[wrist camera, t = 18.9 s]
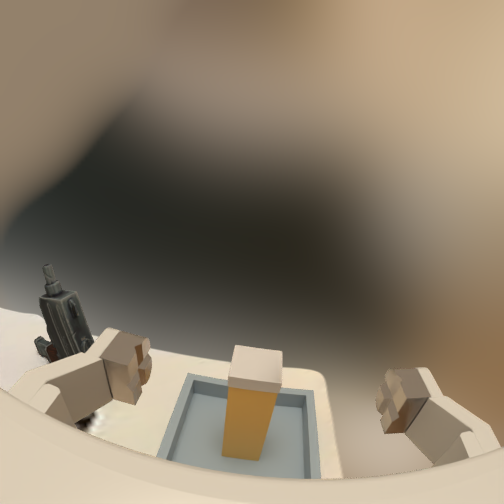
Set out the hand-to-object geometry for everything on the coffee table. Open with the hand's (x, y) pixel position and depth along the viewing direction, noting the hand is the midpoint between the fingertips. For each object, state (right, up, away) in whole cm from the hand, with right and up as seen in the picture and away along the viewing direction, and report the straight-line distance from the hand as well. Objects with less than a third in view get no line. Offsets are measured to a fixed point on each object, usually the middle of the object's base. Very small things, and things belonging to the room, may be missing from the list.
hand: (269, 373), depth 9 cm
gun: (-26, -13, +25) cm, 39 cm away
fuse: (-2, -17, +19) cm, 26 cm away
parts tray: (-2, -18, +19) cm, 27 cm away
